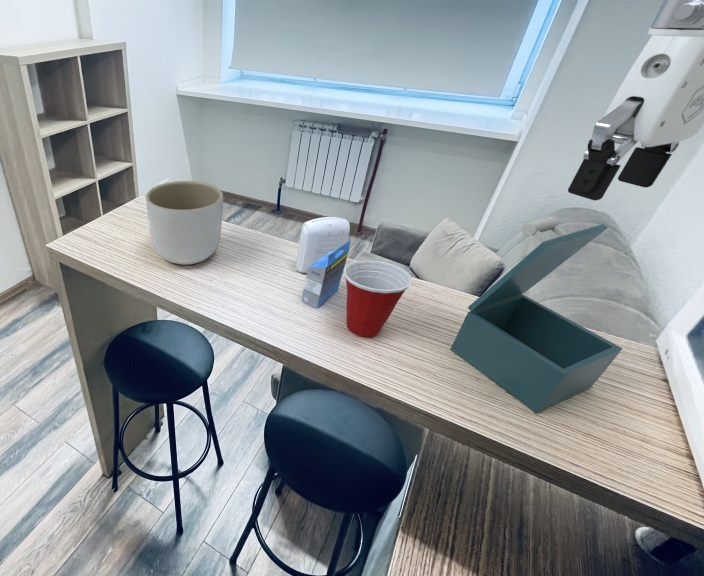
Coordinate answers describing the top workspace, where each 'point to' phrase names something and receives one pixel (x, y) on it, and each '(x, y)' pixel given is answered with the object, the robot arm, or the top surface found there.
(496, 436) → the top surface
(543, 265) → the lid
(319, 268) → the label tape box
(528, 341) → the chest
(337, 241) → the photo printer
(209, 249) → the planter
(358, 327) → the plastic cup
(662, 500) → the top surface
